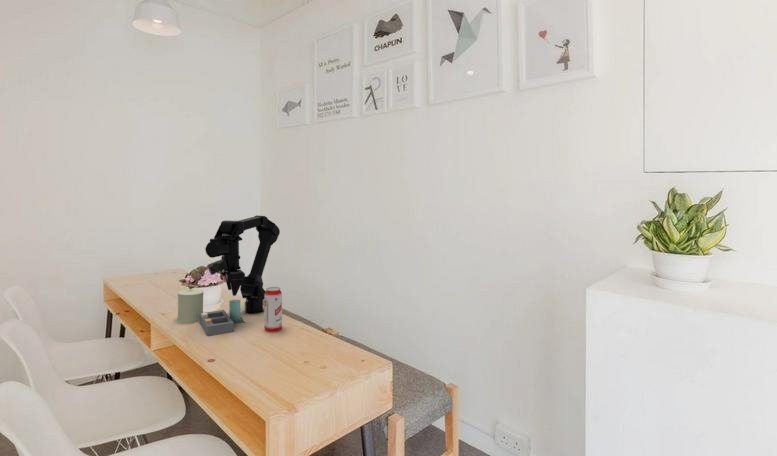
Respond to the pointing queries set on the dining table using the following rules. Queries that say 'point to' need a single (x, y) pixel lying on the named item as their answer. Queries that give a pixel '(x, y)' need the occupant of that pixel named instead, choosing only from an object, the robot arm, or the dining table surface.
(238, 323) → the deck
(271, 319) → the beer can
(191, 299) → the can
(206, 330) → the dock
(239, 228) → the robot arm
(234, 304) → the plug
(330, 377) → the dining table surface
